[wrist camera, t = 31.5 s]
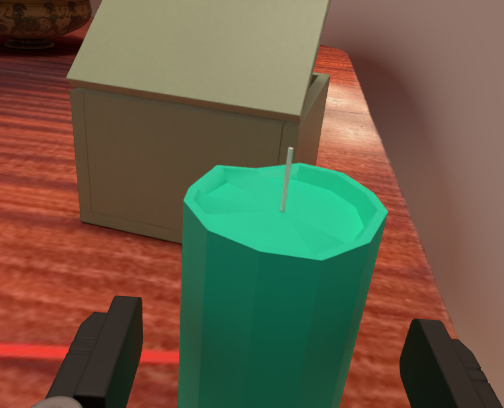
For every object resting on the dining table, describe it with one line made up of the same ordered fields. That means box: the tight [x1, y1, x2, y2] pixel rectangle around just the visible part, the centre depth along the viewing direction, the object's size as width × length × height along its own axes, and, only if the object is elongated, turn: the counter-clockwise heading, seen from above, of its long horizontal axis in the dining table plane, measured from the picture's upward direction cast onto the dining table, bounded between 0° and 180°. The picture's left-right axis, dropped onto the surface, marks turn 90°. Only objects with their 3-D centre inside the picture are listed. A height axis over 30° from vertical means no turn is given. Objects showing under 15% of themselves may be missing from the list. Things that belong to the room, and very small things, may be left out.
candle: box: [178, 147, 388, 408], centre depth 16 cm, size 6×6×12 cm
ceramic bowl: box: [0, 0, 92, 49], centre depth 81 cm, size 30×24×10 cm
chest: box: [70, 72, 330, 244], centre depth 36 cm, size 16×14×9 cm
